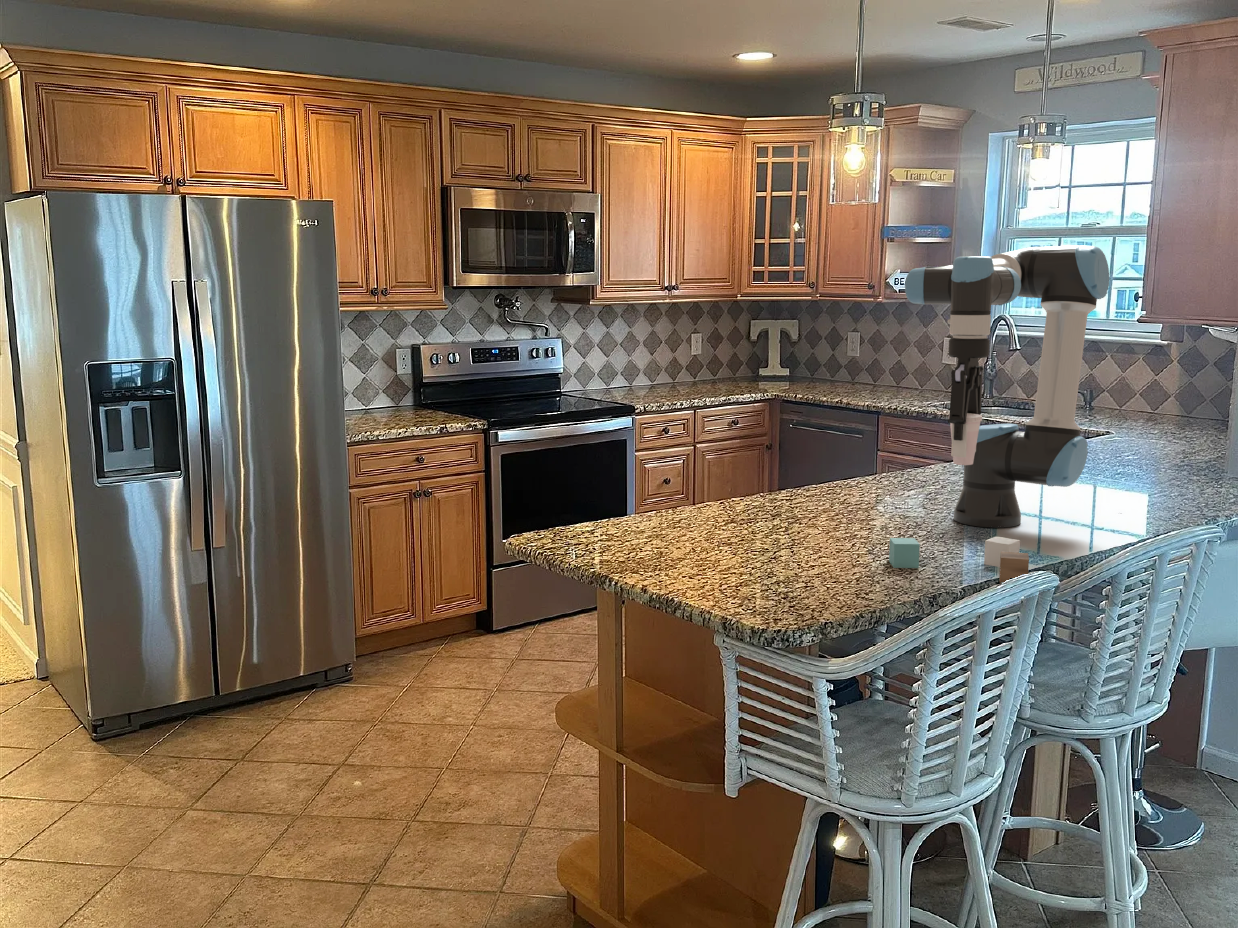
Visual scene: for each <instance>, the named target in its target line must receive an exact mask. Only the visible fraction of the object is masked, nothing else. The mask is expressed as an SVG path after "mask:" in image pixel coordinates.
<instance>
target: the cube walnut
mask: <svg viewBox="0 0 1238 928" xmlns="http://www.w3.org/2000/svg"><path fill="white" fill-rule="evenodd" d="M1029 567H1030V556H1029V552H1028V553H1026V552H1019V553H1017V552H1003V551H1001V556H1000V567H999V576H998V578H999V583H1000V584H1001V582H1005V581H1006V580H1009V579H1010V578H1015V577H1018V576H1020V575H1022V574H1028V575H1029V569H1030V568H1029Z"/></svg>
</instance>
